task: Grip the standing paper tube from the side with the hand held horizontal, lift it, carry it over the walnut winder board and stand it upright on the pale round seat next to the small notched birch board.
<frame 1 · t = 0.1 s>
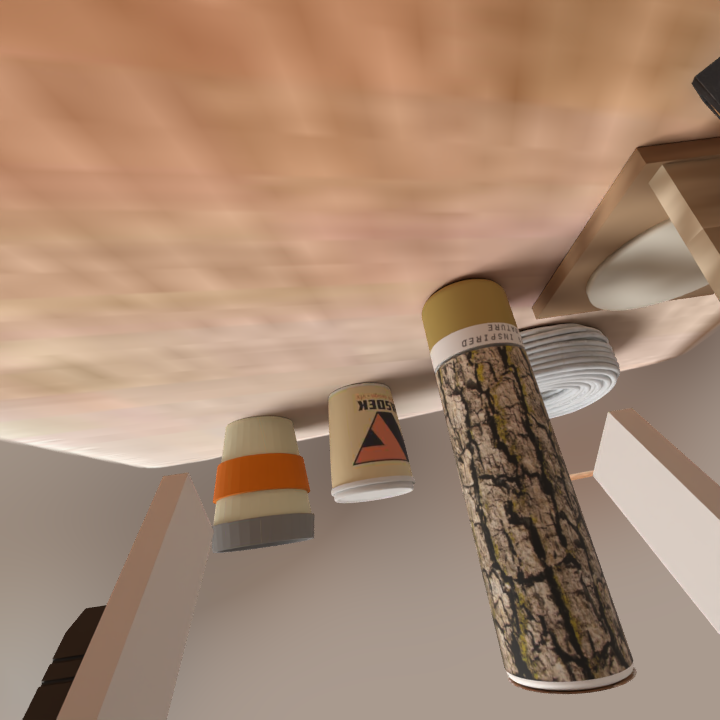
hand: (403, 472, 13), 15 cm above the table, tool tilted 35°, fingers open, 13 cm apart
cable: (520, 355, 48), on the table
coffee cup: (359, 393, 51), on the table
reusable coffee cup: (260, 425, 57), on the table
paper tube: (460, 297, 34), on the table
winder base: (680, 232, 29), on the table
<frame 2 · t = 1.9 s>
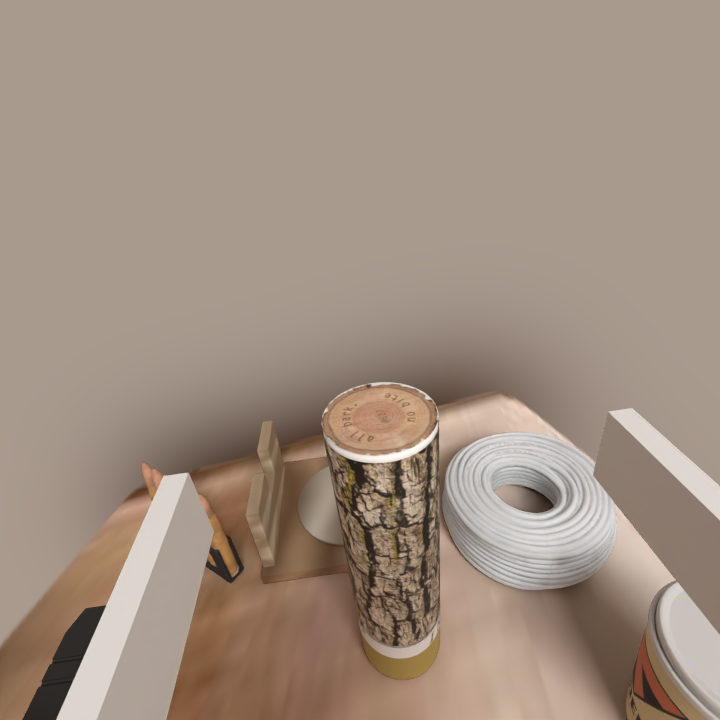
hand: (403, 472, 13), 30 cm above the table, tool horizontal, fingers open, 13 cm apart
cable: (521, 520, 46), on the table
ammunition clip: (205, 555, 46), on the table
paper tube: (401, 639, 37), on the table
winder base: (337, 509, 49), on the table
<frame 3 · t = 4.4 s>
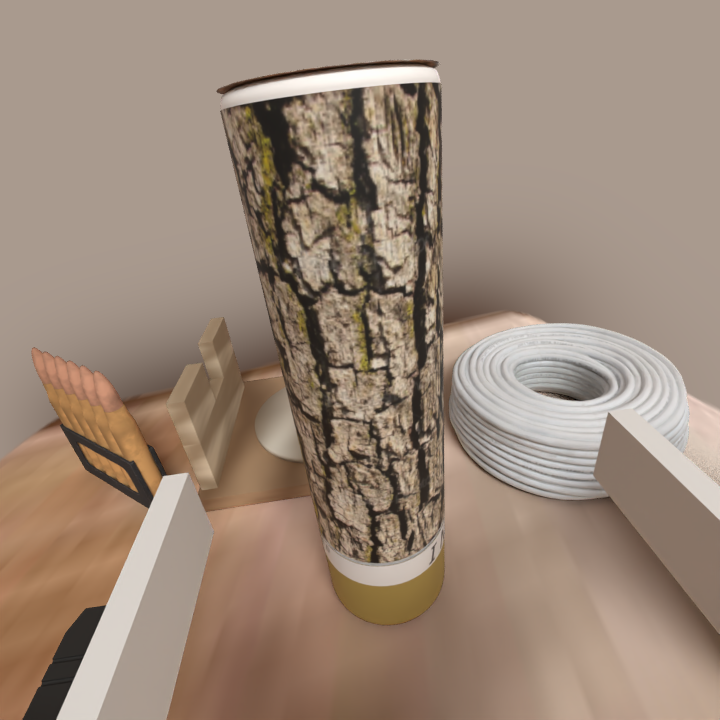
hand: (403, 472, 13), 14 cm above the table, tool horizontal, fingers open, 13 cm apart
cable: (553, 428, 35), on the table
ammunition clip: (129, 484, 34), on the table
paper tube: (388, 574, 25), on the table
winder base: (308, 428, 38), on the table
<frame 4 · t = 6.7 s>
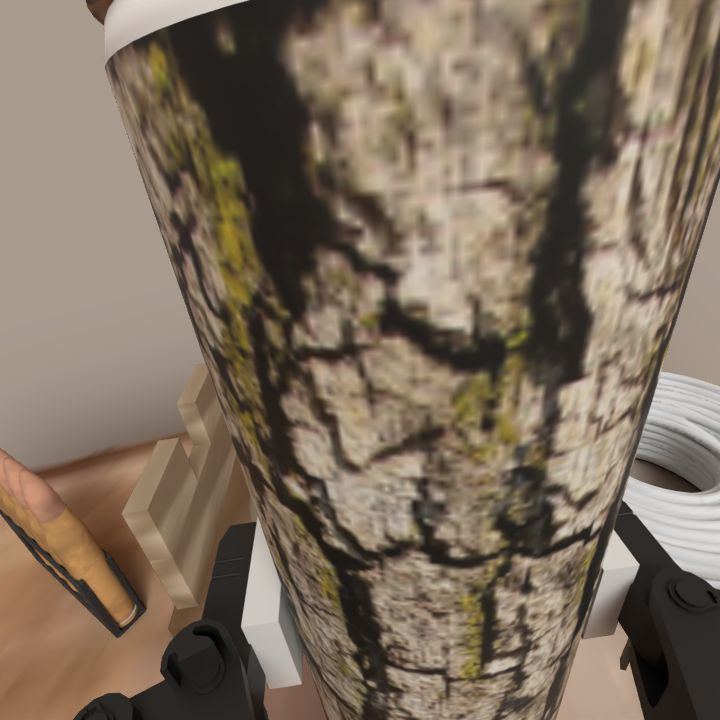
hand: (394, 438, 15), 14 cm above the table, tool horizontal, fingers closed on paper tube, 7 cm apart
cable: (638, 509, 28), on the table
ammunition clip: (88, 584, 27), on the table
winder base: (317, 505, 30), on the table
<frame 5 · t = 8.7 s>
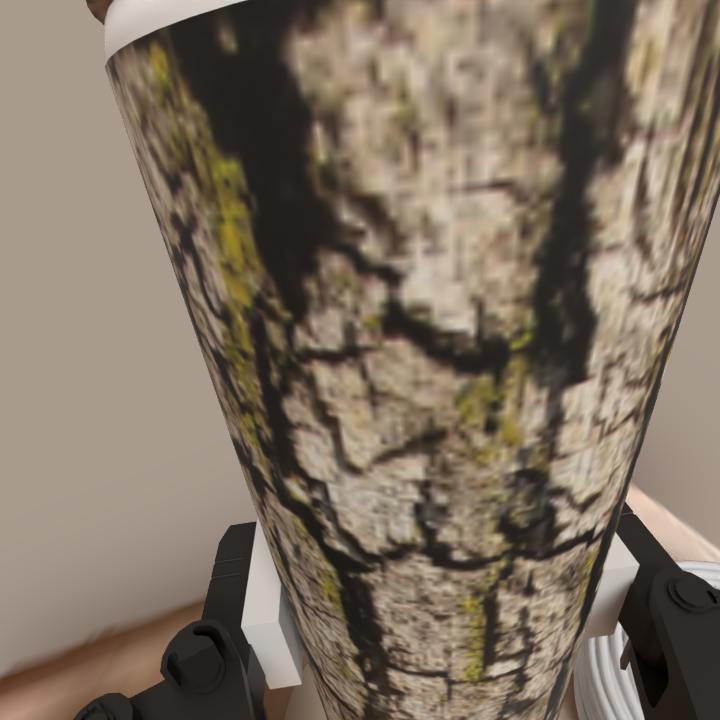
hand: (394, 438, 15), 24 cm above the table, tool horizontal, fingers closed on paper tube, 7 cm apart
when the fingers open (17 cm above the table, at t = 11.0 s): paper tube drops 1 cm, resting on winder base.
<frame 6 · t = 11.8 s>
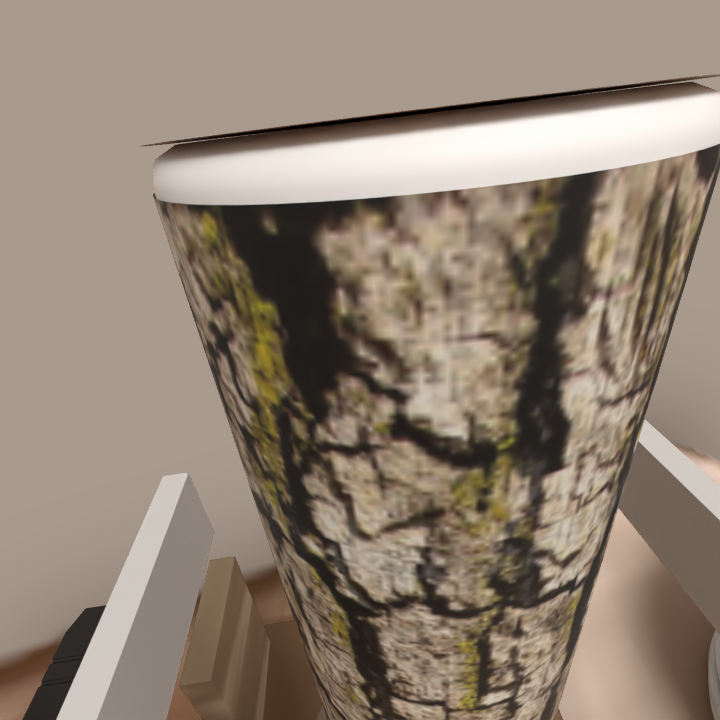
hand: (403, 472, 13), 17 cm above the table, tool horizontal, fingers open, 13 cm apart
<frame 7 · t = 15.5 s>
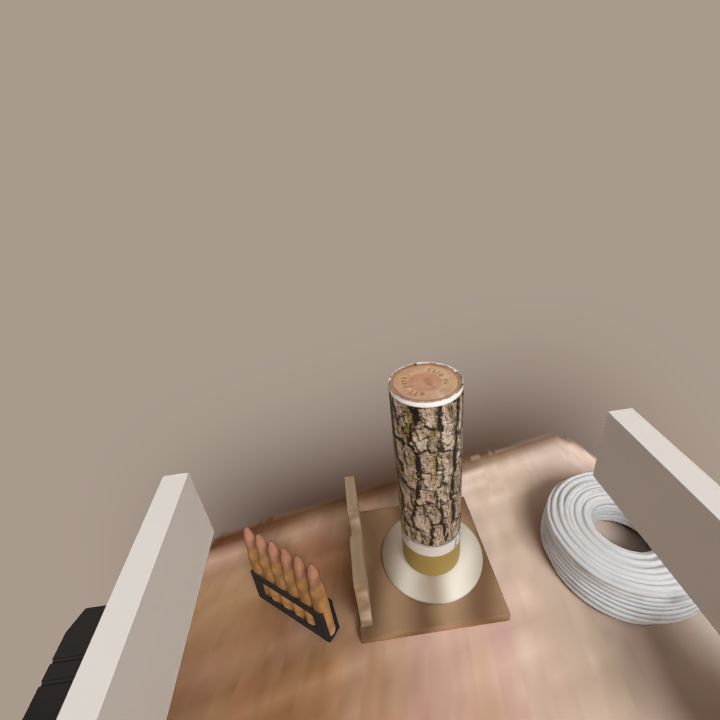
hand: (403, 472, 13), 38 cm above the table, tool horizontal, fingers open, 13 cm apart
cable: (617, 555, 50), on the table
ammunition clip: (298, 611, 48), on the table
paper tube: (431, 553, 50), point 2 cm above the table, touching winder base
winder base: (419, 563, 51), on the table
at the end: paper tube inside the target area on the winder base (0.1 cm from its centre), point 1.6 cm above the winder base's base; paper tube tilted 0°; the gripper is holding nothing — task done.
